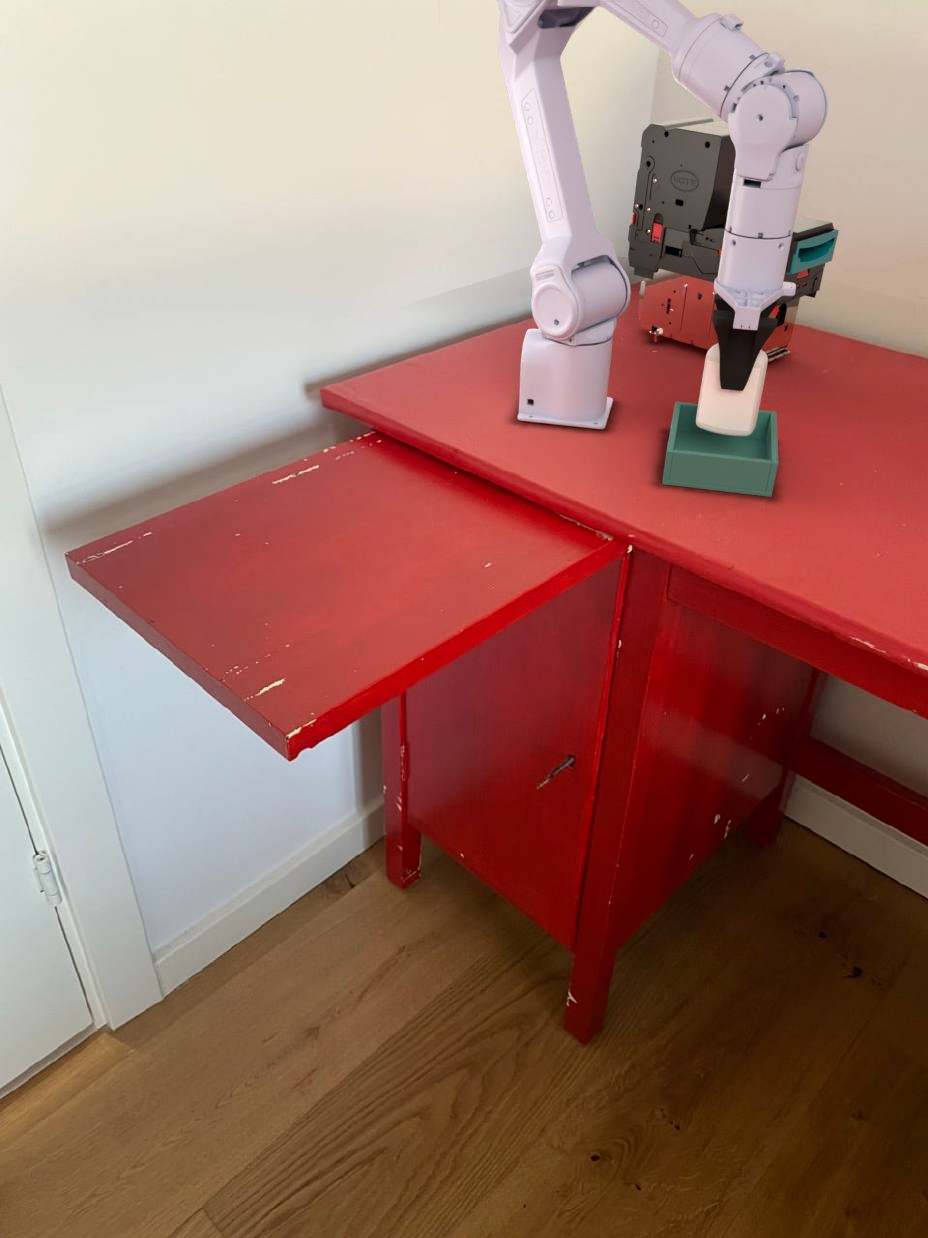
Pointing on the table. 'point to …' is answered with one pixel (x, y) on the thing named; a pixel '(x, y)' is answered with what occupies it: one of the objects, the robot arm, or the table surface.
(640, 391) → the table surface
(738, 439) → the desk tidy
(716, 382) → the eye dropper bottle
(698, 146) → the bill acceptor
